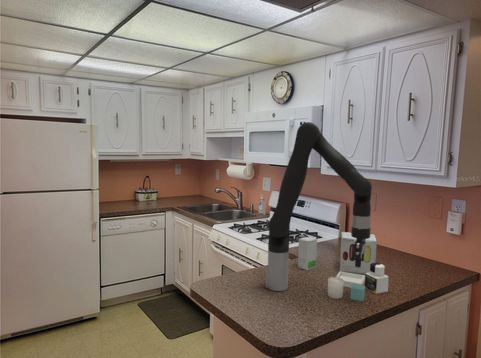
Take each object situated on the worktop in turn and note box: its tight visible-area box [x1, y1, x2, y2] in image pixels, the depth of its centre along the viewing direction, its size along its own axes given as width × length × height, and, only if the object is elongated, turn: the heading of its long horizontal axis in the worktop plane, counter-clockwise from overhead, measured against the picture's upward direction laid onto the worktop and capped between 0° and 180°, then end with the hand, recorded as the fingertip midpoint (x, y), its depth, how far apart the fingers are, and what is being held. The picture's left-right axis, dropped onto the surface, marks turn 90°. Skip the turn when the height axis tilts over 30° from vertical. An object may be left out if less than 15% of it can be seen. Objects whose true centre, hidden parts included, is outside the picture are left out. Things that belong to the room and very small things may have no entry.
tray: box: [335, 270, 365, 289], centre depth 167 cm, size 12×12×3 cm
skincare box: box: [297, 236, 318, 271], centre depth 187 cm, size 8×7×16 cm
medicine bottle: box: [364, 262, 389, 294], centre depth 159 cm, size 7×7×12 cm
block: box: [350, 284, 366, 302], centre depth 150 cm, size 5×5×5 cm
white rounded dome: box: [327, 276, 344, 299], centre depth 152 cm, size 6×6×7 cm
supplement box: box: [339, 231, 378, 275], centre depth 185 cm, size 17×13×18 cm
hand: (359, 263), depth 149 cm, fingers open, 8 cm apart
